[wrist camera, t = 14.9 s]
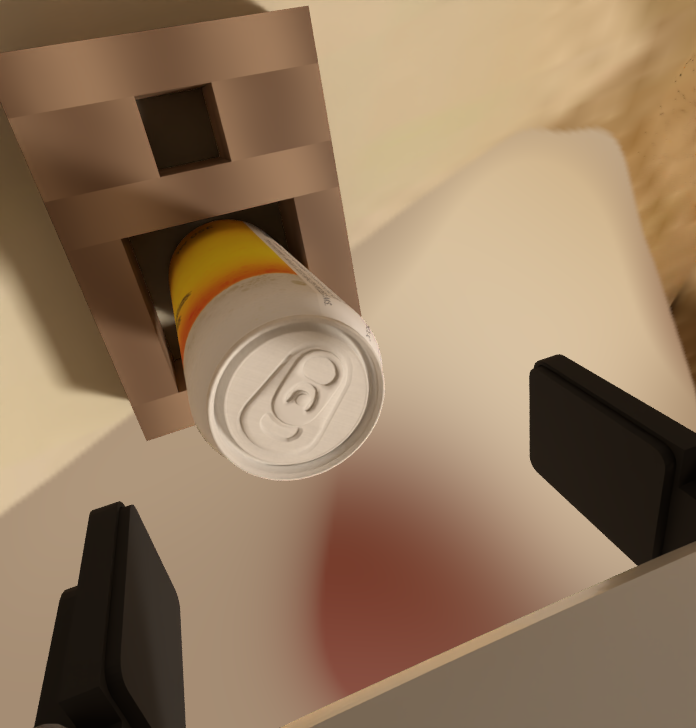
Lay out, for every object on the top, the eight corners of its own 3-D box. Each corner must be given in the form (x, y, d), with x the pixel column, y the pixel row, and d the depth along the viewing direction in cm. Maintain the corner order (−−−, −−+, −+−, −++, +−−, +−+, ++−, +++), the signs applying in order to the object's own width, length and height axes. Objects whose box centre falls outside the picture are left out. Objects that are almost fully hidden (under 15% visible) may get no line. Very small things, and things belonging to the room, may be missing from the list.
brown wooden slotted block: (284, 22, 24) (308, 5, 21) (345, 341, 32) (370, 367, 29) (6, 66, 22) (-20, 56, 18) (146, 403, 29) (146, 440, 26)
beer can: (145, 294, 27) (149, 450, 14) (207, 192, 26) (271, 260, 13) (245, 347, 30) (324, 515, 17) (304, 257, 29) (433, 364, 16)
